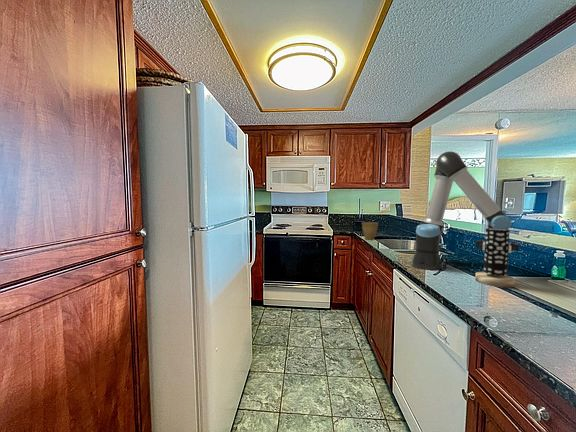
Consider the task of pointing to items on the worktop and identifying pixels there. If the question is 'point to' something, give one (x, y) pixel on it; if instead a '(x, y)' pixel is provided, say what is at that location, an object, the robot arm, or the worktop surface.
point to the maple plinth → (495, 280)
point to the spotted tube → (496, 251)
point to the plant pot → (369, 230)
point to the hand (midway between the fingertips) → (496, 248)
